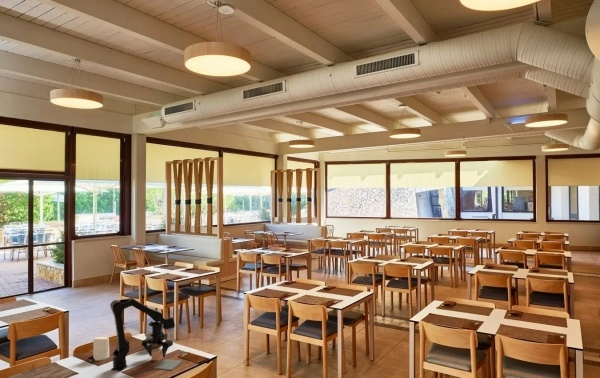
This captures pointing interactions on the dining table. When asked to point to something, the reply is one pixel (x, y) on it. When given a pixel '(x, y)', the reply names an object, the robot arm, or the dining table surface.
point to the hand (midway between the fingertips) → (157, 356)
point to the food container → (148, 335)
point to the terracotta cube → (157, 354)
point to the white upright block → (101, 348)
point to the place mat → (168, 364)
